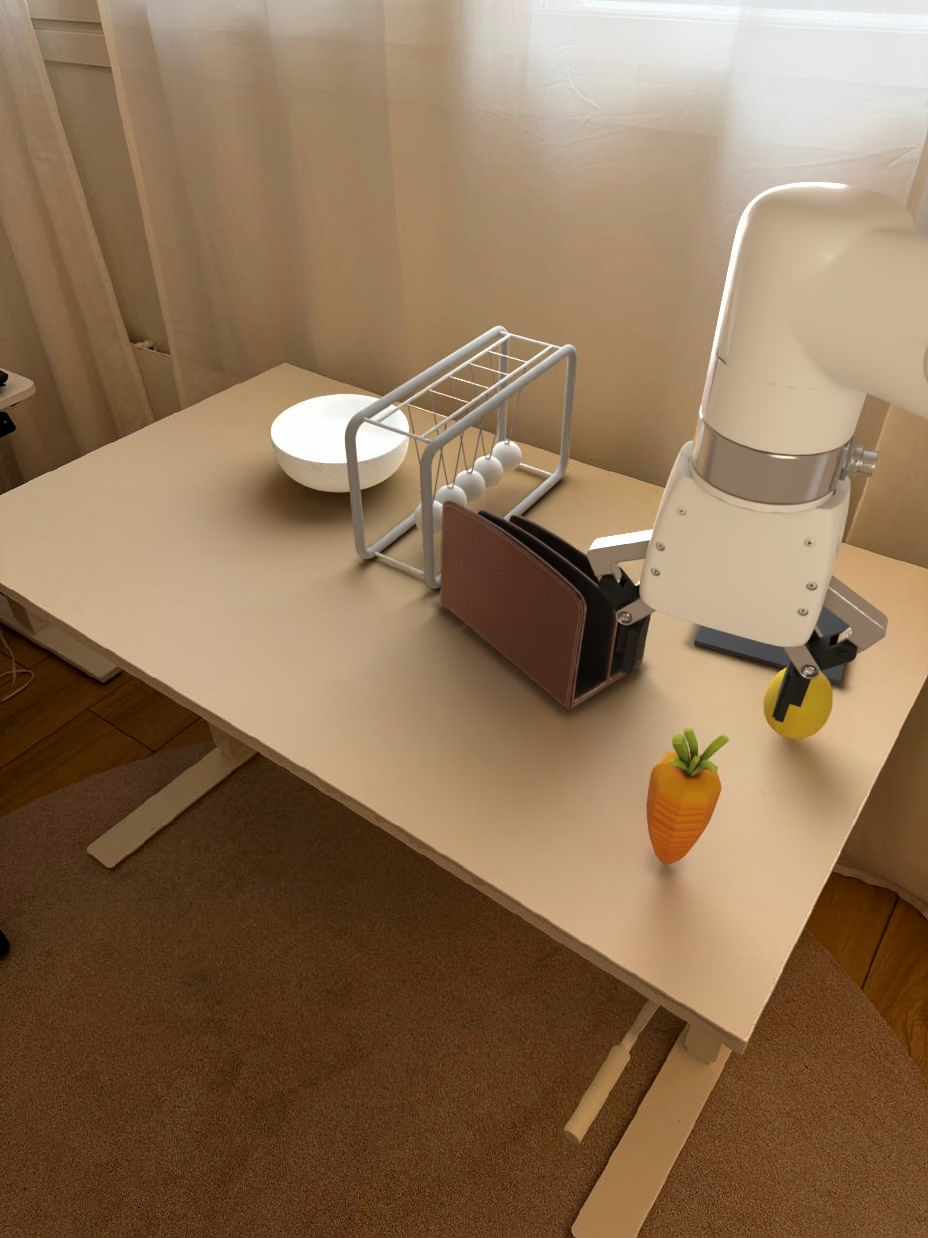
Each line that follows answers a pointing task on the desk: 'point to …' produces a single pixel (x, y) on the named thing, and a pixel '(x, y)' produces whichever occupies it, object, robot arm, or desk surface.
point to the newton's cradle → (485, 468)
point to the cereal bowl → (337, 442)
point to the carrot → (682, 796)
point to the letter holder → (531, 601)
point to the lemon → (800, 708)
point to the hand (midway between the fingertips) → (705, 682)
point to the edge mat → (769, 645)
